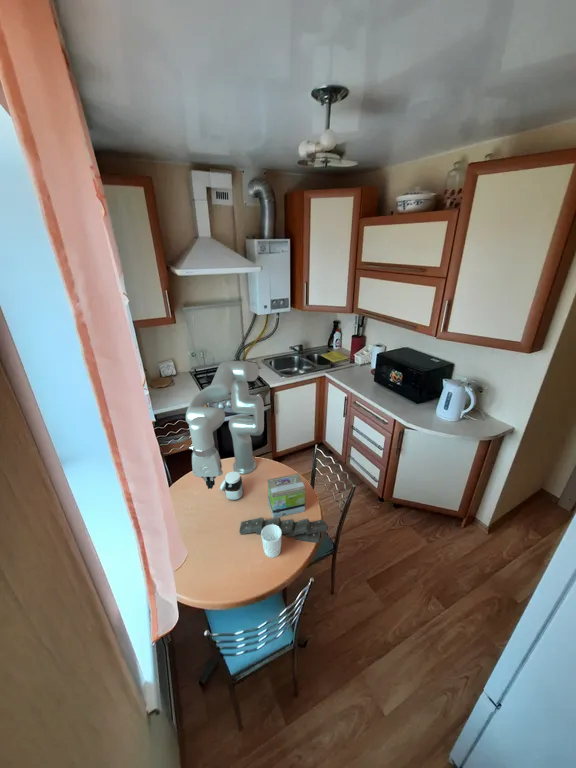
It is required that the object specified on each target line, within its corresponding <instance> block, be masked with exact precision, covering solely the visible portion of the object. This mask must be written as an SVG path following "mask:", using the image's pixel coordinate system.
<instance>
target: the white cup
mask: <svg viewBox="0 0 576 768" xmlns="http://www.w3.org/2000/svg"><path fill="white" fill-rule="evenodd" d="M260 535H261V542H262V547H263V551H264V554H265V556H266V557H268V558H271V559H273V558H277V557H278V556H279V555H280V554H281V551H282V535H283V534H282V532H281V529H280V528H279V527H278V526H277V525H273V524H271V525H267V526H265V527H264V528H263V529H262V532H261V534H260Z"/></svg>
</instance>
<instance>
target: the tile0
mask: <svg viewBox="0 0 576 768" xmlns="http://www.w3.org/2000/svg"><path fill="white" fill-rule="evenodd" d="M264 521H265V519H264V517H263V516H262V517H257V518H253V519H248V520H244V521H241V522H240V527H239V534H240V535H246V534H251V533H256V531H261V530H262V529H263V528H264Z"/></svg>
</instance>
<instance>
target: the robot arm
mask: <svg viewBox="0 0 576 768" xmlns="http://www.w3.org/2000/svg"><path fill="white" fill-rule="evenodd" d="M259 371H260V369H259V366H258V364H257V363H256V362H250V361H249V362H248V361H245V360H244V361H239V360H225V361H222V362H221V363H220V364H219V365H218V367H217V370H216V372H215V374H214V376H213V379H212V381H211V383H210V385H208V386H207V387H204V388H203V389H202V390H200V391H199V392H197V393H196V394H195V395H194V396H193V397H192V399H191V401H190V403H189V405H188V407H187V409H186V412H185V422H186V423H187V425H188V427H189V434H190V438H191V439H190V440H191V444H192V445H189V450H190V451H191V450H192V453H191V467H192V474H193V476H194V477H197V478H198V477H199V478H201V479H203V480H204V482H205V485H206V486H207V489H208V490H209V489H213V487H214V486H215V483H216V482H215V479H216V478H217V477H220V476H222V475H223V473H224V471H223V470H222V467H223V466H222V465H223V464H222V460H221V456H220V454H219V451H218V449H217V448H216V447H215V440H214V431H216V430H218V429H219V428H220V427H221V426H222V425H223V423H224V422H225V420H226V413H225V410H224V409H222V408H220V407H214V406H211V407H210V406H206V405H207V404H209V403H212V402H215V401H219V400H222V399H224V398H226V397H228V396H229V395H230V396H231V397H230V399H231V400H230V401H231V410H232V412H233V413H235V414H238V415H234V416H232V417H230V419H229V421H228V429H229V431H230V434H231V438H232V447H233V453H234V463H233V465H232V468H233V471H235V472H238V473H239V474H240V475H247V474H251V473H252V472H254V471H255V470H256V468H257V461H256V460H255V459H254V456H253V455H254V454H253V446H252V445H253V443H252V437H251V436H254V437H255V436H257V437H258V436H261V435H262V434H263V432H264V430H265V429H264V428H265V406H264V405H265V404H264V399H263V398H262V396H260V395H253V394H250V393H249V392H250V391H249V383H248V382H254V381H256V380H257V379H258V378H259V373H260V372H259ZM239 414H240V415H239Z"/></svg>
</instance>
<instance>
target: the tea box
mask: <svg viewBox="0 0 576 768" xmlns="http://www.w3.org/2000/svg"><path fill="white" fill-rule="evenodd" d="M267 493H268V494H267V497H268V504H269V508H270V510H271V515H272V519H275V518H280V517H285V516H290V515H294V514H300V513H303V512H305V511H306V486H305V483H304V481H303V479H302V477H301V475H300V473H294V474H289V475H284V476H280V477H279V476H278V477H275V478H270V479H267Z"/></svg>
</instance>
